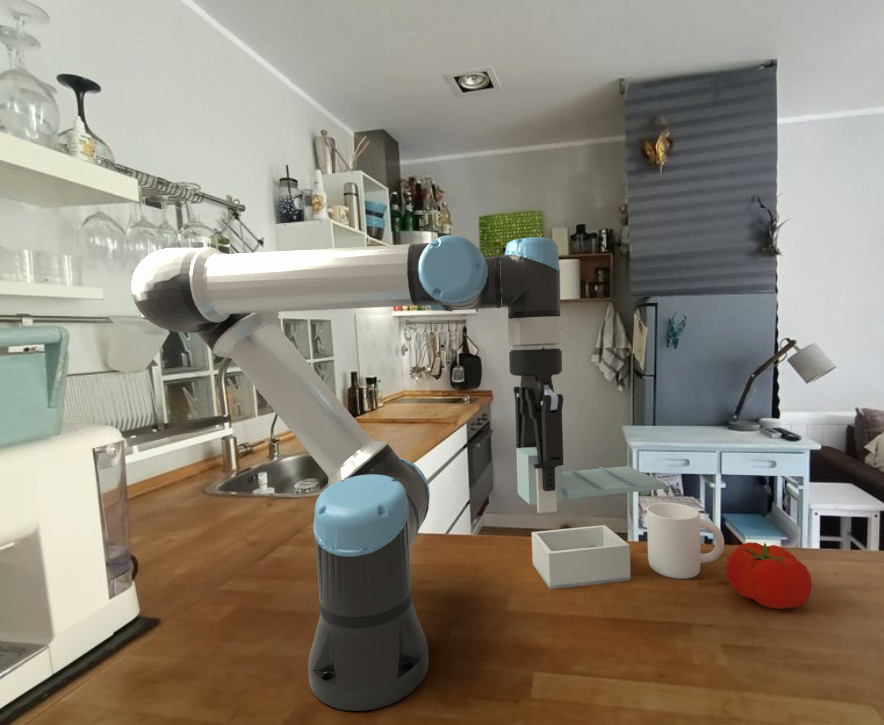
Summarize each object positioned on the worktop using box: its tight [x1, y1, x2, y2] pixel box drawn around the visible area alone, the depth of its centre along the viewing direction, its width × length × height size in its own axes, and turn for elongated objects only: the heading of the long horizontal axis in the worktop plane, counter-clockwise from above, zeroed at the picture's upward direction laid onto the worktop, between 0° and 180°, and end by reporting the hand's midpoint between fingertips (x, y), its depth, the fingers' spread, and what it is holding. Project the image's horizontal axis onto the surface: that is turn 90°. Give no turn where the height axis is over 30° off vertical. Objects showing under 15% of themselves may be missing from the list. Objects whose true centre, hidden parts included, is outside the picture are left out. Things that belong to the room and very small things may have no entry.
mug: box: [646, 502, 725, 580], centre depth 84 cm, size 12×8×10 cm
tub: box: [531, 524, 631, 590], centre depth 85 cm, size 9×14×6 cm, turn 98°
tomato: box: [725, 542, 813, 610], centre depth 74 cm, size 11×11×8 cm
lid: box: [515, 447, 667, 505], centre depth 73 cm, size 10×20×7 cm, turn 100°
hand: (539, 504), depth 72 cm, fingers closed on lid, 5 cm apart
